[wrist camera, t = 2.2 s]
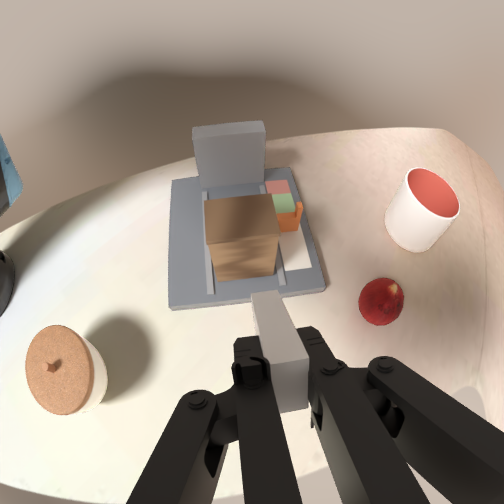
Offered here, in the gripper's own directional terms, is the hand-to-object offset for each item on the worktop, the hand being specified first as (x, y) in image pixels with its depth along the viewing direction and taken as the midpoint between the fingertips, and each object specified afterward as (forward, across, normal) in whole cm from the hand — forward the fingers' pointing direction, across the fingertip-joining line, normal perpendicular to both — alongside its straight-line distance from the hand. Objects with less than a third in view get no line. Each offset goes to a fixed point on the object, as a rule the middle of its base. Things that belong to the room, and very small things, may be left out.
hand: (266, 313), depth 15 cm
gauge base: (+26, 0, 0) cm, 26 cm away
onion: (+16, +16, -11) cm, 25 cm away
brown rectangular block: (+20, 0, -3) cm, 21 cm away
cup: (+24, +28, -2) cm, 37 cm away
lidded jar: (+12, -23, -14) cm, 30 cm away
